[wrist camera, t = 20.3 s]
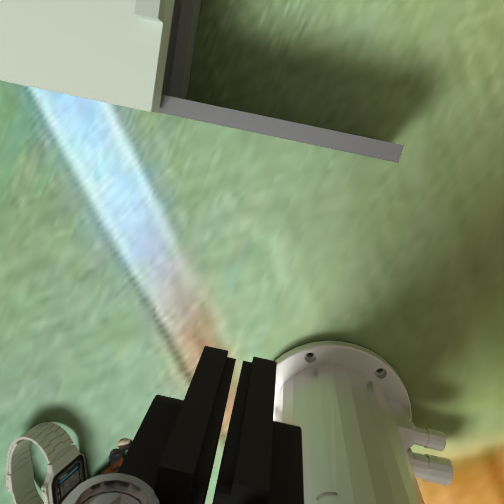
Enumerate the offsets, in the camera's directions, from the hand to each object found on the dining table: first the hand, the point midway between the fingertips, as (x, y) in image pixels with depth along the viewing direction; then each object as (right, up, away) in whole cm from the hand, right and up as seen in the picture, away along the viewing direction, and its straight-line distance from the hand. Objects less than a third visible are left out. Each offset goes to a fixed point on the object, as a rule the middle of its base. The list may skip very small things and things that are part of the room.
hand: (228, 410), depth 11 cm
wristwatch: (-17, -15, +32) cm, 39 cm away
